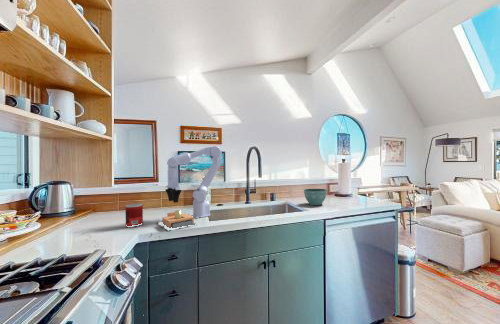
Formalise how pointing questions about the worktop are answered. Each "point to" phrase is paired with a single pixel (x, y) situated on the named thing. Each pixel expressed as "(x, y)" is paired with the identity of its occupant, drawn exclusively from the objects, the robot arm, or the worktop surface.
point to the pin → (178, 214)
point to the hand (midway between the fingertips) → (173, 201)
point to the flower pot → (315, 196)
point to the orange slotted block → (171, 219)
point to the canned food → (134, 214)
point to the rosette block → (182, 223)
